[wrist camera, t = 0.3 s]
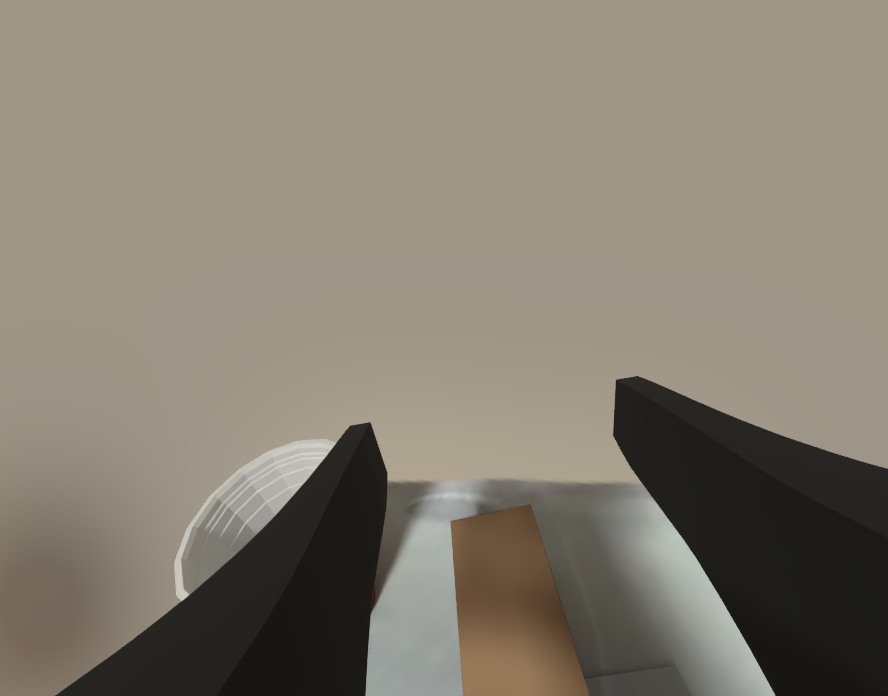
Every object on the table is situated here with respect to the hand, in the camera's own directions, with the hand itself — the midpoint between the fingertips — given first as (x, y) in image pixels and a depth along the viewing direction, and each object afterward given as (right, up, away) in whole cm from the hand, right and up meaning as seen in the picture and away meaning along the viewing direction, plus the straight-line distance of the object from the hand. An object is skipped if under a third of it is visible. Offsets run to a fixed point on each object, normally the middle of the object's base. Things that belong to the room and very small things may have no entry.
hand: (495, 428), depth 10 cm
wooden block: (+3, -17, +11) cm, 21 cm away
